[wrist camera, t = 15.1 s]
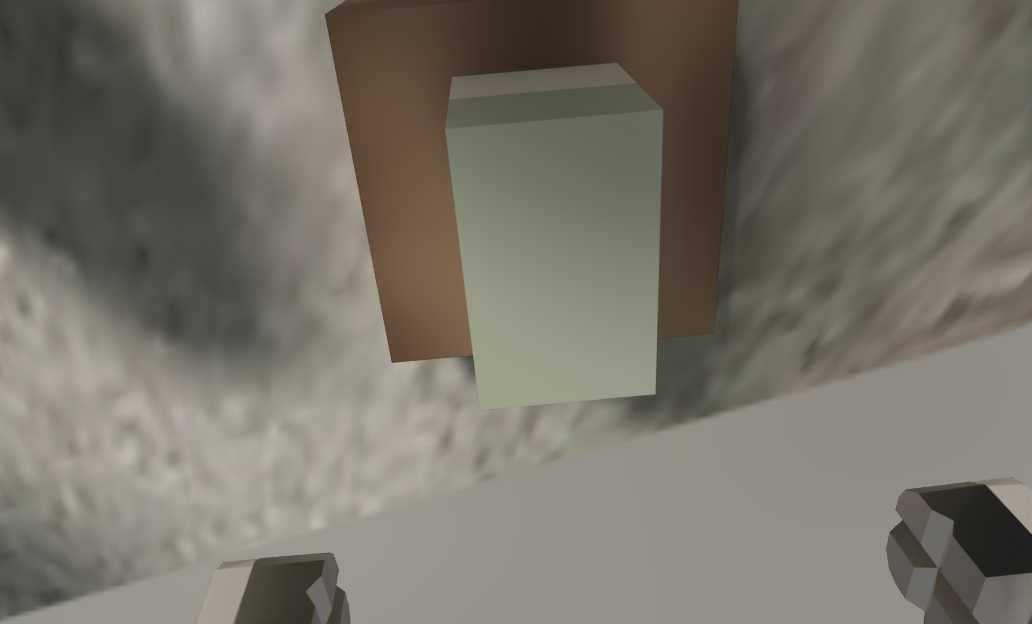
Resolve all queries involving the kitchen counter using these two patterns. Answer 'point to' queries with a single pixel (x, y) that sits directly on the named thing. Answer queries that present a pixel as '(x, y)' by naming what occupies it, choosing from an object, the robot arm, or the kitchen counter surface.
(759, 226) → the kitchen counter surface
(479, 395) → the block
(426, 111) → the walnut stand
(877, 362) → the kitchen counter surface
